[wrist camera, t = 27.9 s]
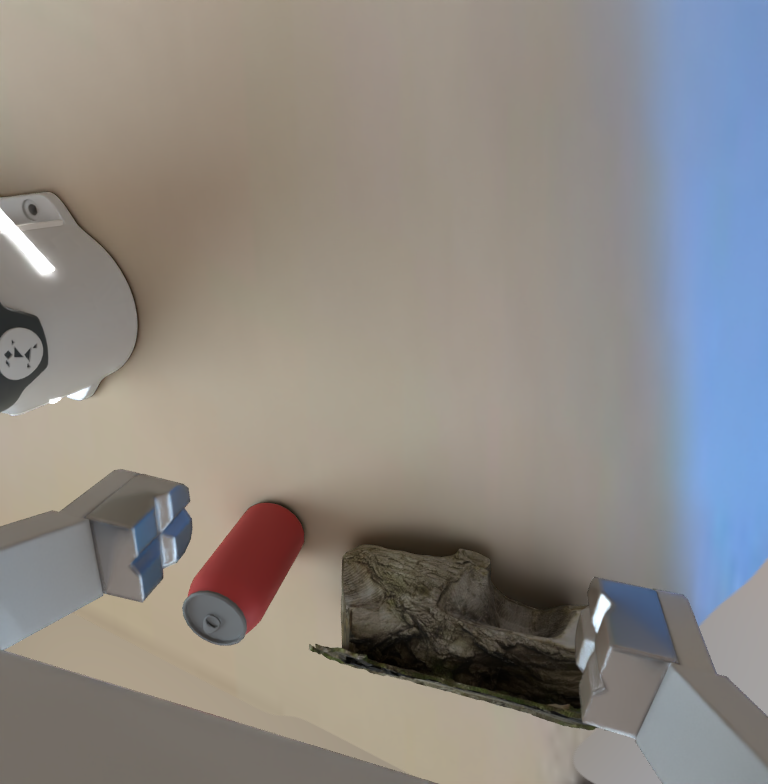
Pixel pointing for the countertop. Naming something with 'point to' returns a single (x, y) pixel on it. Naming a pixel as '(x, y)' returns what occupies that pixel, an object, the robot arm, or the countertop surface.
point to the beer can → (243, 574)
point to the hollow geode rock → (457, 632)
